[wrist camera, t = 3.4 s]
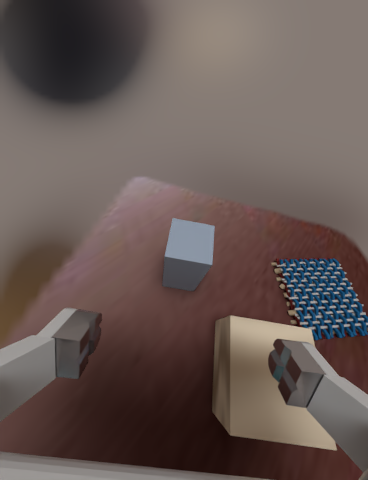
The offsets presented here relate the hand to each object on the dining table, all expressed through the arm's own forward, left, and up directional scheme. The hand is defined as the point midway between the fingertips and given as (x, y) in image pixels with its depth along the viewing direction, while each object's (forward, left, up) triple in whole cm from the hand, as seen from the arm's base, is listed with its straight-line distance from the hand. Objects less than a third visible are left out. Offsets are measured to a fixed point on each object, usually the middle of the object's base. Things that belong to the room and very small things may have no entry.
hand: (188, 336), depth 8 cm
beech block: (-1, -9, -13) cm, 16 cm away
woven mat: (+8, -19, -14) cm, 25 cm away
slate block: (+8, 0, -13) cm, 15 cm away
